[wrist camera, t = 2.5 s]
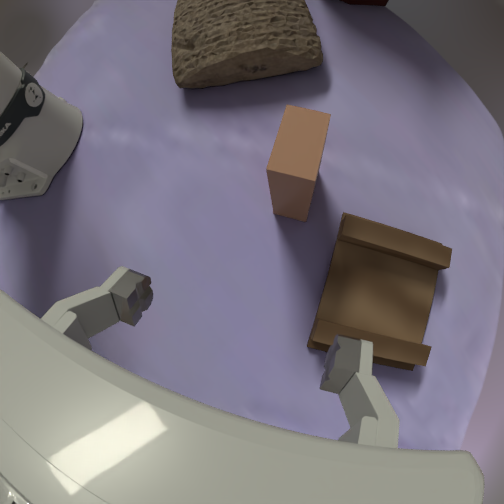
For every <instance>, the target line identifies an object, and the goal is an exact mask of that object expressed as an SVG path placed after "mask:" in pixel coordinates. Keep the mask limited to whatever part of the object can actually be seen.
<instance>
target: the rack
mask: <svg viewBox="0 0 504 504" xmlns="http://www.w3.org/2000/svg"><path fill="white" fill-rule="evenodd" d="M451 253H452V248H449V247H446V246H443V245H442V244H441V243H438V242H436V241H433V240H430V239H427V238H424V237H421V236H418V235H415V234H412V233H409V232H406V231H403V230H400V229H397V228H394V227H391V226H387V225H384V224H381V223H378V222H375V221H371V220H368V219H365V218H361V217H358V216H355V215H351V214H348V213H343V214H342V218H341V222H340V227H339V231H338V235H337V240H336V244H335V248H334V252H333V256H332V260H331V264H330V267H329V271H328V275H327V279H326V282H325V286H324V290H323V293H322V297H321V300H320V304H319V307H318V311H317V314H316V318H315V321H314V324H313V328H312V331H311V334H310V337H309V340H308V344H307V347H310V348H314V349H318V350H321V351H325V352H328V350H329V348H330V346H331V345H333V342H334V338H335V336H336V335H337V334H341V335H345V336H350V337H354V338H358V339H362V340H366V341H370V342H372V343H373V362H372V363H376V364H381V365H386V366H391V367H396V368H401V369H406V370H411V371H413V369H414V366H415V364H416V365H421V366H426V363H427V360H428V357H429V354H430V350H431V346H427V345H424V344H421V343H422V339H423V336H424V332H425V329H426V325H427V321H428V317H429V313H430V309H431V304H432V300H433V295H434V290H435V285H436V280H437V275H438V270H442V269H446V268H449V267H450V260H451Z"/></svg>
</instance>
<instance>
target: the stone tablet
mask: <svg viewBox="0 0 504 504" xmlns="http://www.w3.org/2000/svg"><path fill="white" fill-rule="evenodd" d="M312 22H313V19H312V17H311V15H310V12H309V9H308V7H307V5H306V3H305V0H178V1H177V5H176V8H175V12H174V23H173V29H172V49H171V51H172V69H173V76H174V79H175V82H176V84H177V86H178V87H179V88H205V87H207V86H219V85H226V84H230V83H234V82H237V81H241V80H254V79H259V78H265V77H271V76H276V75H281V74H286V73H291V72H295V71H302V70H308V69H310V68H312V67H317V66H319V65H321V64H322V62H323V54H322V51H321V42H320V37H319V36H317V34H316V33H317V29H316V26H315V25H314V24H313V23H312Z"/></svg>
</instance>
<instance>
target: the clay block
mask: <svg viewBox="0 0 504 504" xmlns="http://www.w3.org/2000/svg"><path fill="white" fill-rule="evenodd" d="M330 116H331V114H327V113H323V112H319V111H315V110H310V109H306V108H301V107H296V106H292V105H287V106H286V109H285V112H284V115H283V118H282V121H281V124H280V127H279V131H278V134H277V137H276V140H275V143H274V146H273V149H272V153H271V156H270V159H269V162H268V165H267V169H266V170H267V176H268V182H269V188H270V194H271V200H272V206H273V213H274V214H277V215H281V216H284V217H288V218H292V219H296V220H299V221H303V222H306V220H307V217H308V213H309V209H310V205H311V201H312V197H313V193H314V189H315V185H316V181H317V177H318V173H319V168H320V164H321V159H322V155H323V150H324V145H325V140H326V136H327V131H328V126H329V121H330Z"/></svg>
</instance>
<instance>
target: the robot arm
mask: <svg viewBox="0 0 504 504" xmlns="http://www.w3.org/2000/svg"><path fill="white" fill-rule="evenodd" d="M81 129H82V114H81V111H80V110H79V109H78V108H77V107H75V106H73V105H70V104H68V103H67V102H66V101H65V100H64V99H63V98H61V97H59V98H58V97H57V96H55V95H54V94H52V93H51V92H49V91H48V90H46V89H45V88H43V87H42V86H40V85H39V84H38V82H37V80H36V79H35V78H34V77H32V76H31V75H30V73H29V72H28V71H26V70H24V69H23V68H18V67H17V66H15V65H14V64H13V63H12V62H11V61H10V60H9V59H8V58H7V57H6V56H5V55H4V54H2V53H1V52H0V200H6V199H14V198H21V197H29V196H38V195H42V194H44V193H45V192H46V190H47V188H48V187H49V185H50V183H51V181H52V179H53V177H54V175H55V174H56V173H57V172H58V170H59V169H60V168H61V167H62V166H63V164H64V163H65V162H66V161H67V159H68V158H69V156H70V155H71V153H72V151H73V149H74V148H75V146H76V144H77V141H78V139H79V136H80V133H81ZM150 284H151V279H150V277H149V276H146V275H144V274H141V273H139V272H136V271H134V270H131V269H128V268H126V267H123V266H121V267H119V268H118V269H117V270H116V271H115V272H114V273H113V274H112V275H111V276H110V277H109V278H108V279H107V280H106V281H105V282H104V283H103V284H102V285H101V286H100V287H95V288H92V289H89V290H87V291H84V292H81V293H79V294H76V295H73V296H71V297H68V298H65V299H63V300H60V301H57V302H56V303H55V304H54V305H53V306H52V307H51V308H50V309H49V310H48V311H47V312H46V314H45V315H44V316H43V317H42V318H41V319H40V318H39V317H37V316H36V315H34V314H33V313H31V312H30V311H29V310H27V309H26V308H25V307H23V306H22V305H21V304H19V303H18V302H17V301H15V300H14V299H13V298H11V297H10V296H9V295H8V294H6V293H5V292H4V291H2V290H0V504H482V503H483V495H484V475H483V473H482V471H481V469H480V467H479V466H478V464H477V462H476V460H475V459H474V457H473V456H472V454H471V453H470V452H468V451H463V450H450V451H445V450H414V449H400V448H397V447H398V434H399V419H398V417H397V415H396V413H395V411H394V410H393V408H392V406H391V404H390V402H389V400H388V399H387V397H386V395H385V393H384V391H383V390H382V388H381V386H380V384H379V382H378V381H377V379H376V377H375V376H372V362H373V343H372V342H370V341H366V340H362V339H358V338H354V337H350V336H345V335H341V334H337V335H336V336H335V338H334V342H333V345H331V346H330V348H329V350H328V352H327V355H326V359H325V363H324V368H325V372H324V373H323V375H322V379H321V384H320V389H321V390H325V391H329V392H333V393H337V394H339V398H340V401H341V403H342V406H343V409H344V411H345V414H346V417H347V419H348V422H349V425H350V429H349V430H348V431H347V432H346V433H344V434H343V435H342V436H341V437H340V438H339V440H333V439H327V438H322V437H317V436H312V435H308V434H303V433H299V432H295V431H291V430H287V429H283V428H279V427H275V426H272V425H268V424H264V423H261V422H257V421H254V420H251V419H248V418H244V417H241V416H238V415H235V414H232V413H229V412H226V411H223V410H220V409H217V408H215V407H212V406H209V405H206V404H204V403H201V402H198V401H196V400H193V399H191V398H188V397H186V396H183V395H181V394H178V393H176V392H174V391H171V390H169V389H167V388H164V387H162V386H160V385H158V384H155V383H153V382H151V381H149V380H147V379H145V378H142V377H140V376H138V375H136V374H134V373H132V372H130V371H128V370H126V369H124V368H122V367H120V366H118V365H116V364H114V363H113V362H111V361H109V360H107V359H105V358H103V357H101V356H100V355H98V354H96V353H94V352H93V351H91V350H92V346H91V344H90V342H89V340H88V338H90V337H92V336H94V335H95V334H97V333H99V332H101V331H103V330H105V329H106V328H108V327H110V326H112V325H114V324H116V323H117V322H119V320H120V321H122V322H125V323H127V324H129V325H132V326H134V327H135V325H136V324H137V323H138V321H139V320H140V319H141V317H142V312H143V311H145V310H147V309H148V308H149V306H150V305H151V302H152V300H153V290H152V289H151V287H150V286H149V285H150Z"/></svg>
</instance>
